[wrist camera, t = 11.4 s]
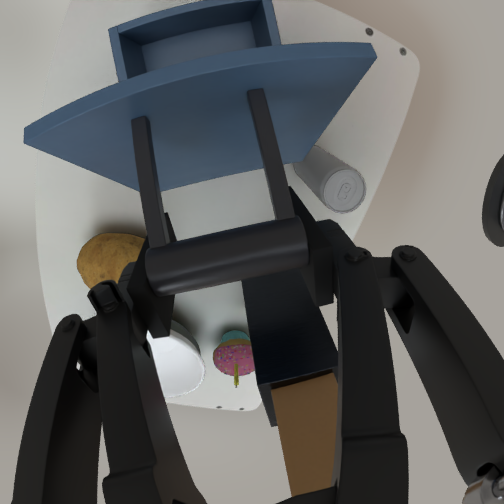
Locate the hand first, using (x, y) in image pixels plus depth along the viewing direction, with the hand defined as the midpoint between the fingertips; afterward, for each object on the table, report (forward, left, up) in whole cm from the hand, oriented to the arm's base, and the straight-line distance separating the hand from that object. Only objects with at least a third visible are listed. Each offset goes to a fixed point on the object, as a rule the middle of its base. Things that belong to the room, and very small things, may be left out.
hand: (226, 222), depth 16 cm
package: (-3, +21, 0) cm, 21 cm away
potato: (+16, +11, -22) cm, 29 cm away
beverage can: (-11, +4, -22) cm, 25 cm away
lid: (0, -4, -4) cm, 6 cm away
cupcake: (+5, +33, -22) cm, 40 cm away
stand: (-3, +21, -22) cm, 31 cm away
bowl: (+19, +28, -22) cm, 40 cm away
